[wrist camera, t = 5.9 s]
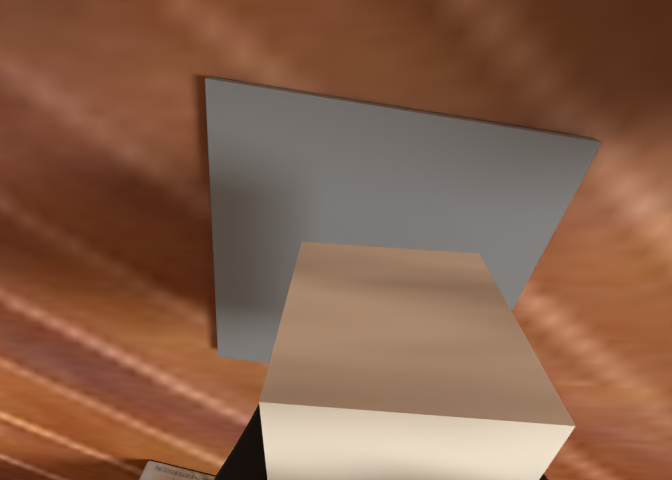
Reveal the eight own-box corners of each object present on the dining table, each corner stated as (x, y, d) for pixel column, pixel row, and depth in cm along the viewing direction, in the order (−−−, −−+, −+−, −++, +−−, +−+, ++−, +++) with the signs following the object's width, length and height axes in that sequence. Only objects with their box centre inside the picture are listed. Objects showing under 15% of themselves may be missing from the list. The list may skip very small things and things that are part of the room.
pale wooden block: (423, 436, 14) (451, 608, 10) (302, 427, 14) (279, 593, 10) (478, 253, 10) (575, 426, 5) (301, 241, 10) (259, 402, 6)
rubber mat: (593, 138, 14) (602, 142, 14) (465, 383, 23) (468, 391, 22) (210, 76, 14) (205, 78, 14) (221, 349, 22) (218, 356, 22)
